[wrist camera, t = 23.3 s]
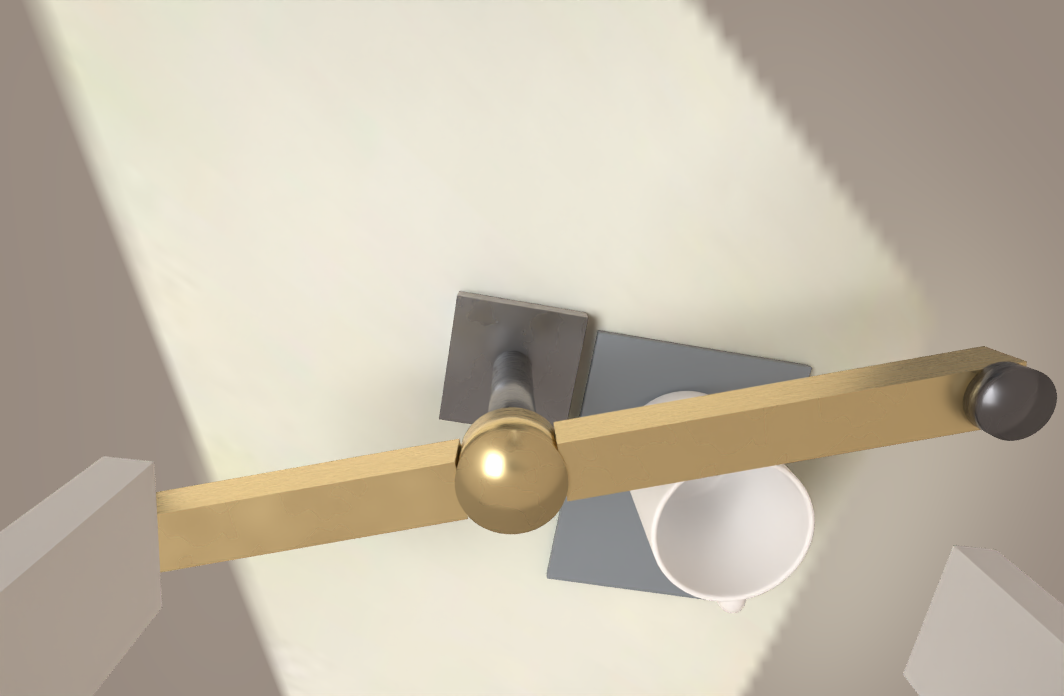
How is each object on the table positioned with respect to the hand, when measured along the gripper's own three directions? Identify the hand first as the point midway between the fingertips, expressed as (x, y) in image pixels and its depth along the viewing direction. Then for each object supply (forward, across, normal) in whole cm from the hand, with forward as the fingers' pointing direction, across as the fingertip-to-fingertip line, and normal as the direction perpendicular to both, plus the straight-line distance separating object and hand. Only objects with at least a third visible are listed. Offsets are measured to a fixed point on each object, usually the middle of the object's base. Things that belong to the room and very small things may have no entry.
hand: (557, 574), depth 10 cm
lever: (+15, +1, -5) cm, 16 cm away
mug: (+28, +12, -12) cm, 33 cm away
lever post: (+29, 0, -6) cm, 29 cm away
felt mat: (+29, +12, -13) cm, 33 cm away
